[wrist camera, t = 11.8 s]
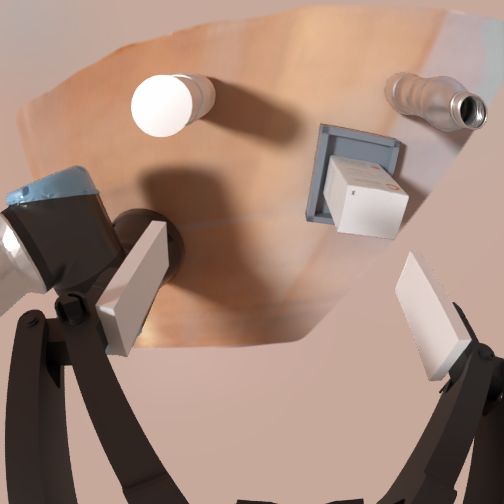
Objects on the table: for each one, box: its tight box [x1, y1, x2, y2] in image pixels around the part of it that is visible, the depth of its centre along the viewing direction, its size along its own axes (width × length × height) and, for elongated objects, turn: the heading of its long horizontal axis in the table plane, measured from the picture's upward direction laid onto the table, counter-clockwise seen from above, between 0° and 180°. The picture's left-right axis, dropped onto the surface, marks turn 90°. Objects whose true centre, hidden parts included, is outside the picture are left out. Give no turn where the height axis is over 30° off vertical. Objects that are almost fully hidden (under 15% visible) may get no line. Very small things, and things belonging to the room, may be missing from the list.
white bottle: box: [131, 73, 216, 137], centre depth 35 cm, size 7×7×15 cm
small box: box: [323, 155, 409, 240], centre depth 40 cm, size 8×6×13 cm
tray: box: [305, 123, 401, 225], centre depth 45 cm, size 12×15×2 cm
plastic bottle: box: [385, 72, 487, 132], centre depth 30 cm, size 6×7×20 cm
